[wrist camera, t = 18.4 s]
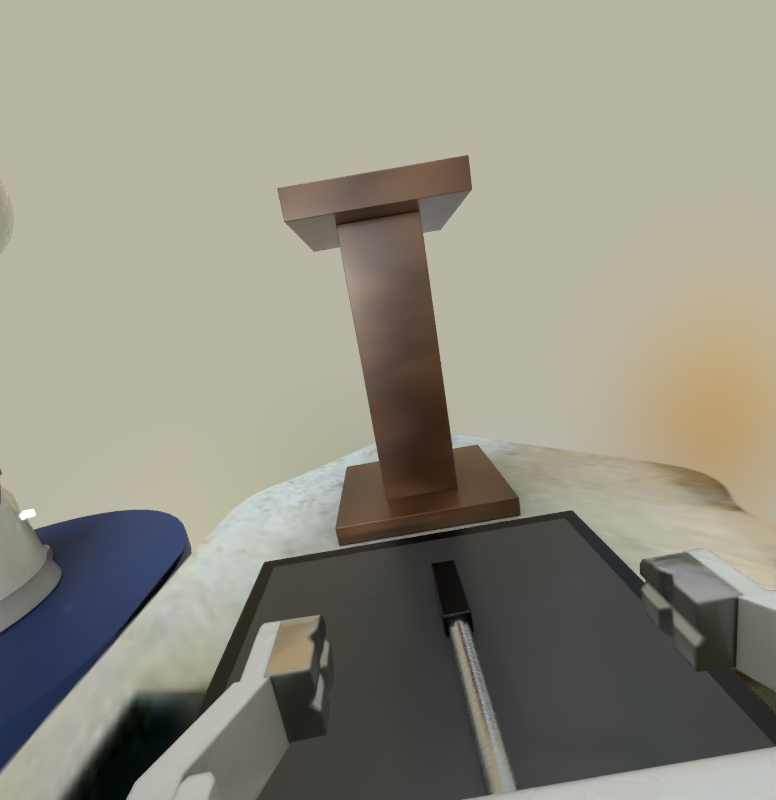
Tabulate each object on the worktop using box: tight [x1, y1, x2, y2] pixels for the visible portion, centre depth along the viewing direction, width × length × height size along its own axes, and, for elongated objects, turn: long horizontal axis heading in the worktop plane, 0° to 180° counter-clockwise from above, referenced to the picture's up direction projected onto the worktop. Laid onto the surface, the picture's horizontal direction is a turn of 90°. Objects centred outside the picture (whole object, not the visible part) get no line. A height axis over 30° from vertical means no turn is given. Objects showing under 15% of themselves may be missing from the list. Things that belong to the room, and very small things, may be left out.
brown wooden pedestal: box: [278, 155, 520, 545], centre depth 33 cm, size 14×12×25 cm
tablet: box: [192, 510, 776, 800], centre depth 18 cm, size 22×20×1 cm
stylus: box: [431, 560, 520, 795], centre depth 14 cm, size 1×16×1 cm, turn 3°
